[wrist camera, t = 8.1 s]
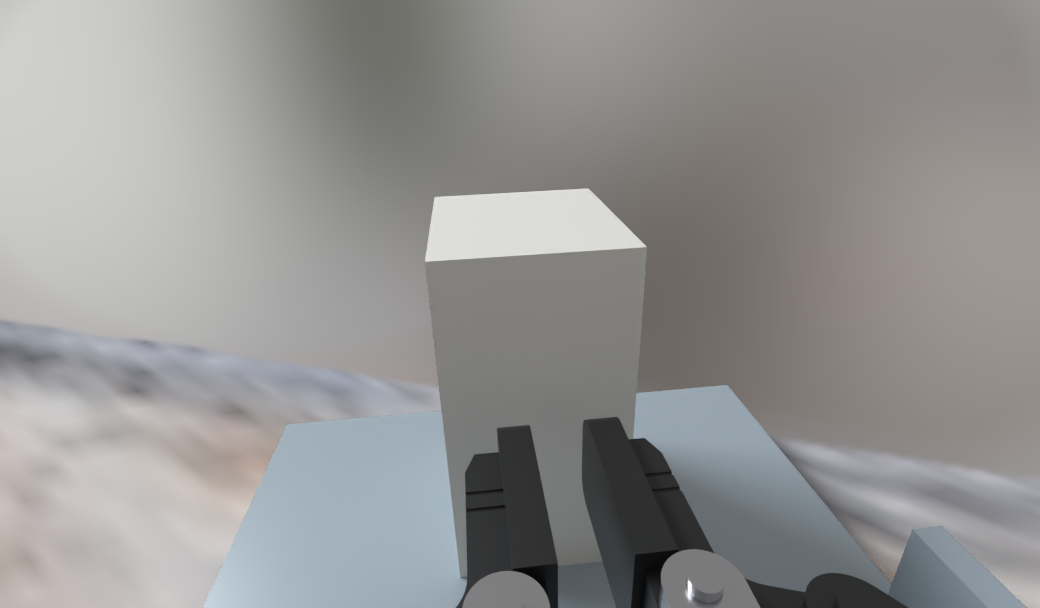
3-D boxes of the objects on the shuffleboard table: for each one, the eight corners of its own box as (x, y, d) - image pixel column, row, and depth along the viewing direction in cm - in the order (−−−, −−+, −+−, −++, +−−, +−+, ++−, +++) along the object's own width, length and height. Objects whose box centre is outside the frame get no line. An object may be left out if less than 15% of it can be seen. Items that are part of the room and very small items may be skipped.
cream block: (624, 558, 16) (646, 247, 12) (460, 577, 16) (424, 261, 12) (582, 434, 22) (588, 188, 18) (459, 445, 21) (434, 197, 17)
